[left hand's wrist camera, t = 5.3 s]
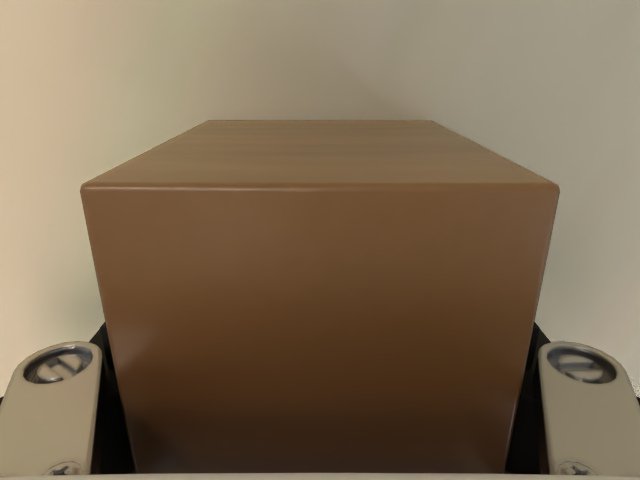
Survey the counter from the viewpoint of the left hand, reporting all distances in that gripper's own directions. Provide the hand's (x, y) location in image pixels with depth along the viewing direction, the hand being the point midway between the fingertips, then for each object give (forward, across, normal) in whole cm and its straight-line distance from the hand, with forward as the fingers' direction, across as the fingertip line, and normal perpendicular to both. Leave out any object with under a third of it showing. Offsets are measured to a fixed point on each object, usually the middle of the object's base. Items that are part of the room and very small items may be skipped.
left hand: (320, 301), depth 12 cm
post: (+2, 0, -35) cm, 35 cm away
